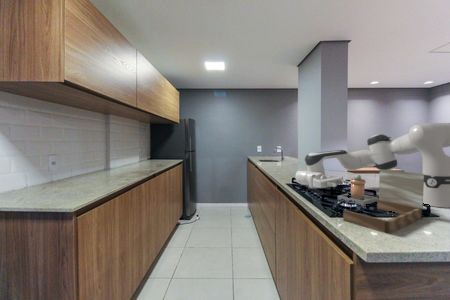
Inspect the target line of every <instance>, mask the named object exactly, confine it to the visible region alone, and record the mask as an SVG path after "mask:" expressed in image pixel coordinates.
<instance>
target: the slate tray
mask: <svg viewBox="0 0 450 300" xmlns="http://www.w3.org/2000/svg"><path fill="white" fill-rule="evenodd" d="M348 195H349V194H348V193H343V194H340V195H337V201H338V200H341V199H345V200H352V201H355V202H356V203H358V204H359V205H361V206H360V207H363V206H364V207H367V206H366V204H371V203H374V202H377V201H378V200H379V196H373V195H372V196H371V195H367V194H364V200H363V201H362V200H358V199H353V198H348V197H347V196H348ZM374 204H375V203H374ZM371 205H372V204H371Z"/></svg>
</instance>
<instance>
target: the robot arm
mask: <svg viewBox="0 0 450 300" xmlns="http://www.w3.org/2000/svg"><path fill="white" fill-rule="evenodd" d="M391 138H392V137H391V136H387V135H386V134H378V133H377V134H373V135H371V136H370V137H369V138H368V139H367V147H368V148H369V149H360V150H355V151H351V152H349V151H348V152H347V150H345V149H344V150H343V149H337V150H336V149H335V150H328V151H319V152H318V151H317V152H309V153H307V154H306V156H305V157H304V161H305V165H306V169H307V170H297V171H296V173H295V180H296V183H298V184H299V185H303V186H306V187H307V186H308V187H309V188H311V189H314V188H316V189H325V188H330V187H332V188H336V187H338V185H348V181H347V180H345V179H344V177H341V176H333V175H331V176H327V175H326V172H325V168H324V160H327V159H328V160H329V159H337V160H338V162H339V164H340V165H341V166H342V167H343V168H344V169H345V170H347V171H357V170H360V169H363V168H366V167H367V166H370V165H373V168H376V169H377V170H379V171H380V169H382V170H393V169H395V168H396V167H397V166H398V159H397V158H396V155H399V156H405V155H411V154H416V153H420V157H421V160H422V161H421V164H422V169H421V171H422V173H421V174H424V187H423V203H424V204H429V205H430V207H435V208H448V209H450V155H447V154H446V153H445V151H444V149H445V148H450V122H424V123H419V124H415V125H412V126H411V127H410V129H409V130H408V133H406V134H402V135H401V136H398V137H397V138H394V139H391ZM395 154H396V155H395ZM424 204H423V205H424ZM429 205H428V206H429Z"/></svg>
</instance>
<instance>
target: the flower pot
mask: <svg viewBox="0 0 450 300" xmlns="http://www.w3.org/2000/svg"><path fill="white" fill-rule="evenodd" d="M349 183H350V193H351V198H353V199H358V200H362V201H363V200H364V195H365V185H366V179H363V178H362V176H361V174H356V175H354V178H350V181H349Z"/></svg>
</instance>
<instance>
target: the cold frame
mask: <svg viewBox="0 0 450 300" xmlns="http://www.w3.org/2000/svg"><path fill="white" fill-rule="evenodd" d="M378 179H379V182H378V183H379V184H378V201H377V203H376V205H377V206H376V207H377V210H381V211H386V212H389V211H392V212H391V213H393V212H395V213H394V214H397V213H398V215H397V216H395V217H393V218H390V219H388V220H385V219H381V218H378V217H374V216H370V215H366V214H363V213H362V214H361V213H359V212H358V213H357V212H355V211H351V210H346V209H344V210H343V212H342V213H343V216H342V217H343V219H342V220H343V221H344V222H347V223H351V224H354V225H357V226H360V227H363V228H368V229H371V230H374V231H377V232H381V233H384V234H388V235H390V234H391V233H394V232H395V231H398V230H400V229H401V228H403V227H406V226H408V225H410V224H412V223H415V222H416V221H419V220H422V218H423V217H422V216H423V208H424V207H423V205H424V204H423V187H424V174H422V173H420V172H413V171H412V172H410V171H401V170H400V171H399V170H393V169H391V170H382V169H380V170H379V178H378Z"/></svg>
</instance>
